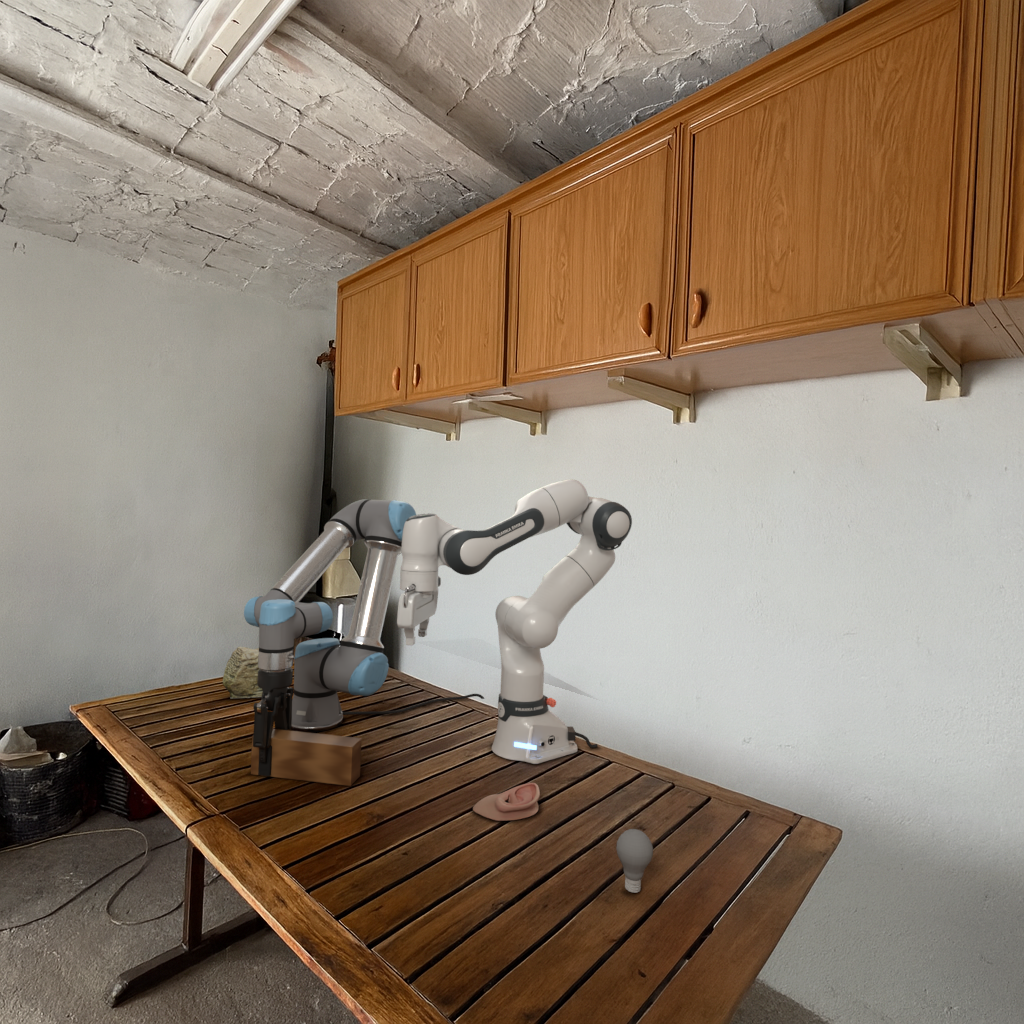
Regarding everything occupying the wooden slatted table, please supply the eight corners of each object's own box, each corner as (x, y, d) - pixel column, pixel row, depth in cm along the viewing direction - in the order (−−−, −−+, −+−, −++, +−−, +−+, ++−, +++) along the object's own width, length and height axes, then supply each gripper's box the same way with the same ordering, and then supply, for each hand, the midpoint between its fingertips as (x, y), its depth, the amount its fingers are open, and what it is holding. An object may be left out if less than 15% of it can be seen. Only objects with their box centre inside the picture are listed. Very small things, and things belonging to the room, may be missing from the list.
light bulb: (610, 879, 108) (613, 822, 108) (644, 879, 109) (647, 822, 109) (619, 902, 102) (622, 840, 102) (655, 901, 103) (658, 840, 103)
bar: (250, 774, 143) (252, 735, 143) (263, 764, 148) (264, 727, 148) (350, 786, 139) (352, 746, 139) (360, 775, 144) (361, 738, 144)
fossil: (218, 695, 195) (220, 647, 195) (278, 685, 208) (279, 640, 207) (228, 703, 189) (230, 653, 188) (289, 692, 201) (290, 645, 201)
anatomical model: (469, 797, 128) (483, 773, 139) (468, 816, 128) (482, 791, 139) (534, 806, 125) (543, 781, 136) (533, 826, 125) (542, 799, 136)
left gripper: (269, 680, 135) (265, 788, 135) (309, 659, 153) (306, 755, 153) (237, 677, 136) (233, 784, 136) (280, 657, 154) (277, 752, 155)
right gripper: (418, 588, 139) (416, 651, 139) (442, 578, 159) (440, 632, 159) (391, 587, 139) (388, 649, 140) (418, 576, 160) (416, 631, 160)
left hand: (271, 769), depth 145 cm, fingers closed on bar, 5 cm apart
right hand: (416, 640), depth 150 cm, fingers open, 8 cm apart
